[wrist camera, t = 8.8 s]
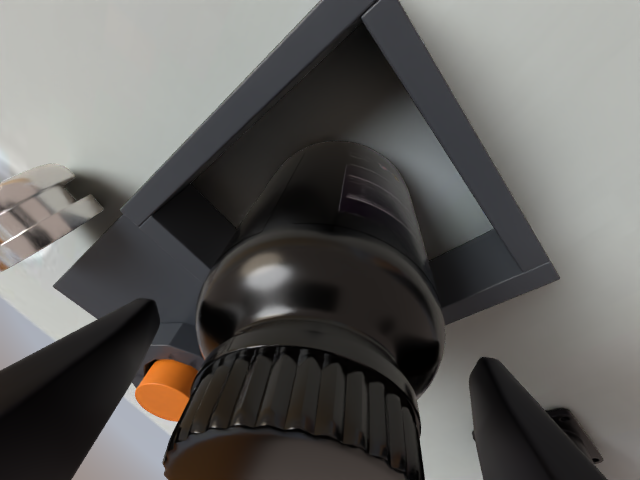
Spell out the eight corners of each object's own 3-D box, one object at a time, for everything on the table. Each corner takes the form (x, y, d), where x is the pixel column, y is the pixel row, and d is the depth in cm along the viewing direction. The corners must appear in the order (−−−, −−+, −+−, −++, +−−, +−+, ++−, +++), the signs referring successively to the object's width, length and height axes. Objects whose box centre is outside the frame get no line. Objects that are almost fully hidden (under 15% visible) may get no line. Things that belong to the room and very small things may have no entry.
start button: (221, 384, 20) (208, 412, 18) (186, 400, 21) (172, 427, 20) (174, 349, 19) (157, 376, 17) (140, 369, 20) (122, 395, 19)
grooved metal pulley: (65, 229, 19) (-22, 284, 15) (22, 186, 18) (-85, 232, 14) (122, 198, 17) (43, 249, 13) (80, 147, 16) (-23, 186, 12)
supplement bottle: (340, 284, 18) (302, 585, 8) (244, 205, 17) (45, 468, 7) (443, 209, 15) (581, 547, 5) (338, 100, 13) (233, 298, 3)
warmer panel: (320, 330, 21) (311, 379, 18) (213, 381, 25) (192, 427, 22) (163, 179, 16) (118, 210, 14) (69, 273, 21) (20, 312, 18)
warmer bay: (525, 232, 15) (561, 279, 12) (320, 330, 21) (311, 379, 18) (370, -28, 11) (368, -51, 8) (163, 179, 16) (118, 210, 14)
